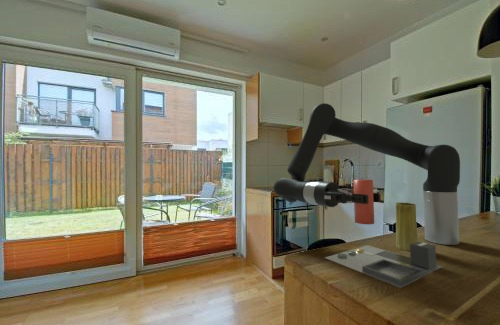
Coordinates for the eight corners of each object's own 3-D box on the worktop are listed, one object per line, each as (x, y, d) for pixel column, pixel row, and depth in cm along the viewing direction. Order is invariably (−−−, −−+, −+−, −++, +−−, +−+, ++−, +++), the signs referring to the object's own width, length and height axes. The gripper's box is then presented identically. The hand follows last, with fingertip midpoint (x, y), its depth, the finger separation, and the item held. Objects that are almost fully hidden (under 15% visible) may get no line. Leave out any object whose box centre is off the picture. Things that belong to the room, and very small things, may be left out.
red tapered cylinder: (361, 219, 64) (360, 179, 65) (378, 222, 60) (376, 179, 61) (350, 221, 62) (349, 180, 62) (367, 225, 58) (365, 180, 58)
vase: (423, 253, 70) (421, 205, 70) (400, 252, 71) (398, 204, 71) (413, 247, 76) (411, 202, 76) (392, 246, 77) (391, 202, 77)
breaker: (418, 260, 63) (417, 240, 63) (436, 265, 59) (435, 244, 59) (410, 263, 61) (410, 243, 61) (428, 269, 57) (428, 247, 57)
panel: (367, 247, 76) (367, 241, 76) (442, 268, 59) (442, 261, 59) (324, 259, 66) (324, 253, 66) (400, 290, 49) (400, 281, 49)
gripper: (304, 182, 70) (355, 184, 55) (336, 180, 77) (389, 182, 63) (304, 207, 70) (356, 217, 55) (337, 203, 77) (390, 210, 62)
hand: (373, 198), depth 59 cm, fingers closed on red tapered cylinder, 4 cm apart
